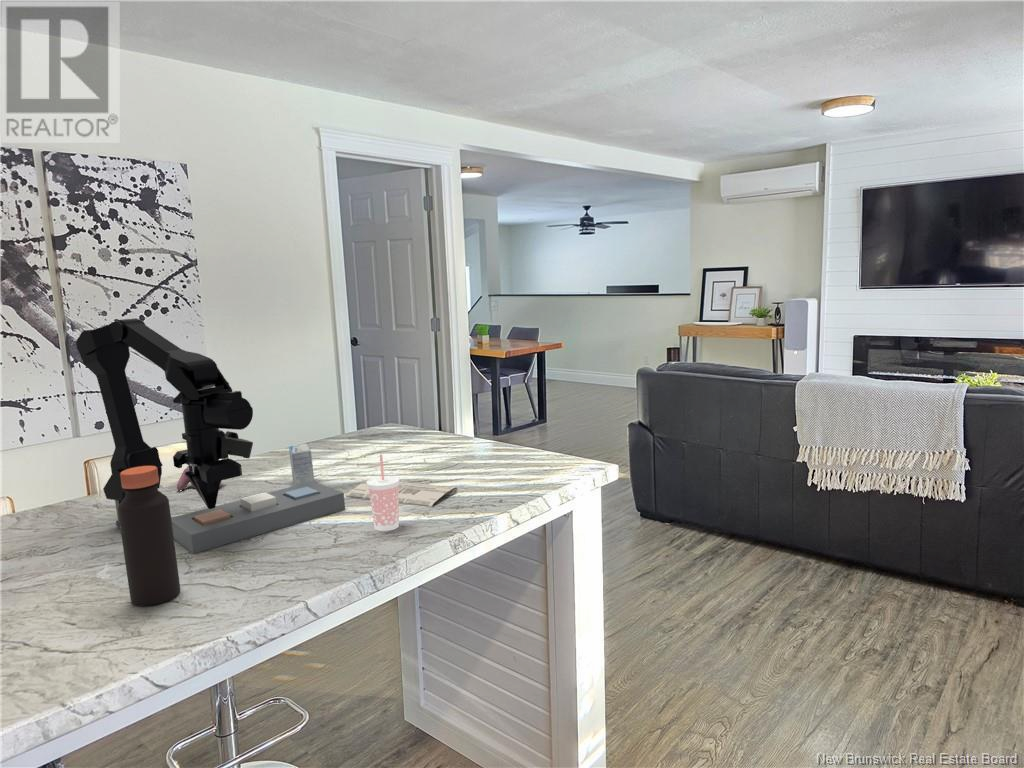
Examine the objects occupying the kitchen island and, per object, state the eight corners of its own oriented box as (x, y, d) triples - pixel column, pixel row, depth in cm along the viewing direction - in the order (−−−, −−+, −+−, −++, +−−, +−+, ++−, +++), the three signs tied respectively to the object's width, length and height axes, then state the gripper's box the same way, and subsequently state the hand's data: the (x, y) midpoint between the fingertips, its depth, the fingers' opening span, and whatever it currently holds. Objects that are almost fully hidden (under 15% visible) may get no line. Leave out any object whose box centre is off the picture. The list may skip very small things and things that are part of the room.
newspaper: (461, 491, 152) (460, 481, 151) (432, 515, 141) (431, 504, 141) (376, 482, 162) (375, 472, 161) (343, 504, 151) (342, 493, 150)
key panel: (193, 553, 122) (191, 535, 122) (169, 536, 132) (167, 518, 131) (345, 509, 142) (343, 492, 142) (315, 496, 152) (313, 481, 151)
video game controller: (224, 493, 163) (228, 463, 165) (215, 490, 159) (218, 460, 161) (184, 494, 164) (188, 464, 166) (173, 491, 160) (178, 461, 162)
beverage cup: (367, 524, 133) (361, 453, 130) (399, 518, 135) (394, 448, 133) (373, 534, 127) (367, 460, 125) (406, 529, 129) (400, 456, 127)
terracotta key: (205, 537, 127) (203, 522, 127) (195, 531, 131) (193, 516, 130) (232, 530, 130) (230, 514, 130) (222, 524, 134) (220, 509, 134)
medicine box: (315, 486, 159) (311, 450, 158) (294, 489, 158) (291, 452, 156) (311, 478, 166) (308, 443, 165) (292, 481, 165) (288, 445, 163)
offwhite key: (252, 518, 133) (250, 503, 133) (242, 513, 137) (240, 498, 136) (277, 511, 136) (275, 497, 136) (266, 506, 140) (265, 492, 140)
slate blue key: (297, 511, 139) (295, 497, 139) (285, 506, 143) (284, 492, 142) (319, 505, 143) (318, 491, 142) (308, 500, 146) (307, 486, 146)
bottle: (125, 598, 106) (106, 471, 103) (171, 583, 110) (155, 461, 107) (139, 612, 101) (120, 479, 98) (187, 595, 105) (170, 468, 102)
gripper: (265, 425, 126) (274, 507, 129) (226, 413, 140) (235, 488, 142) (202, 436, 119) (213, 524, 121) (167, 423, 132) (177, 502, 135)
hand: (211, 508), depth 130 cm, fingers closed
